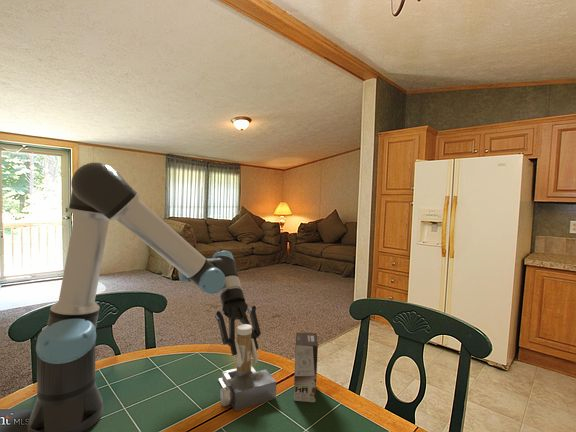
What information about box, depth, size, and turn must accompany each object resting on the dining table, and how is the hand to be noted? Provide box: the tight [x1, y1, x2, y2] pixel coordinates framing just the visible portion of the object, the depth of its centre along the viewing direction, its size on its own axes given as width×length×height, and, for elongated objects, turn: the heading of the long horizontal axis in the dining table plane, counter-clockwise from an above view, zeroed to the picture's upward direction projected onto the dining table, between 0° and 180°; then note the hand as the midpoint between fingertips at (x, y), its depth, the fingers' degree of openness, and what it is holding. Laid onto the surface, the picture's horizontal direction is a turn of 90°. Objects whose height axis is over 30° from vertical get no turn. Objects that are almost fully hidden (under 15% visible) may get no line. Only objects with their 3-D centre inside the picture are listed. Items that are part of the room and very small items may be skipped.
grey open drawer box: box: [217, 365, 277, 412], centre depth 91 cm, size 14×16×5 cm
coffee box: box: [293, 331, 319, 403], centre depth 91 cm, size 9×6×16 cm
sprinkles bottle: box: [236, 323, 253, 373], centre depth 94 cm, size 5×5×14 cm
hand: (248, 363), depth 91 cm, fingers closed on sprinkles bottle, 4 cm apart
